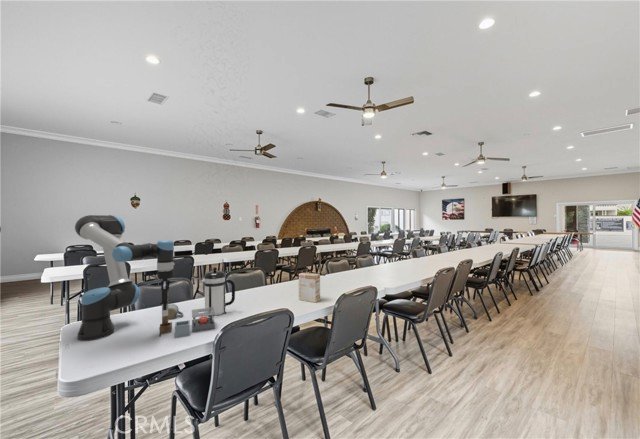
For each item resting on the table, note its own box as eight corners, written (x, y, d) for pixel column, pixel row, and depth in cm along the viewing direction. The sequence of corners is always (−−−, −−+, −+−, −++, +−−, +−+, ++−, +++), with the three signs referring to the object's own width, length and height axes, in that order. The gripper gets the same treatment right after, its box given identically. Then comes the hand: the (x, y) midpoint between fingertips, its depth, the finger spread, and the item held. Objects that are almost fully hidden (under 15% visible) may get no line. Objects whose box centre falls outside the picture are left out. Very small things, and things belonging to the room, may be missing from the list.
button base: (192, 335, 148) (192, 315, 148) (192, 328, 158) (191, 309, 158) (214, 331, 153) (214, 312, 153) (213, 324, 163) (213, 307, 163)
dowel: (161, 330, 148) (162, 292, 148) (162, 328, 151) (162, 290, 151) (167, 329, 149) (168, 291, 149) (168, 328, 152) (168, 290, 152)
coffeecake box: (320, 300, 210) (320, 273, 210) (315, 303, 204) (315, 275, 204) (303, 297, 218) (303, 272, 218) (298, 300, 212) (298, 273, 212)
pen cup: (175, 340, 142) (174, 326, 142) (175, 335, 148) (175, 322, 148) (189, 338, 144) (189, 324, 144) (189, 333, 150) (189, 320, 150)
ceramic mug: (163, 320, 170) (163, 307, 170) (164, 316, 178) (165, 304, 178) (182, 318, 174) (182, 306, 174) (183, 314, 182) (184, 302, 182)
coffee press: (221, 320, 170) (220, 269, 170) (197, 318, 173) (196, 269, 173) (235, 311, 187) (235, 265, 187) (213, 309, 190) (213, 264, 190)
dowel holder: (159, 336, 146) (159, 327, 146) (160, 333, 151) (160, 323, 151) (171, 335, 149) (171, 325, 149) (172, 331, 153) (171, 322, 153)
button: (199, 328, 153) (199, 319, 153) (199, 326, 156) (199, 317, 157) (207, 327, 155) (207, 318, 155) (207, 325, 158) (206, 316, 158)
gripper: (172, 272, 144) (172, 318, 144) (174, 267, 159) (173, 309, 159) (155, 273, 141) (155, 320, 141) (158, 268, 156) (158, 311, 156)
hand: (165, 314), depth 150 cm, fingers closed on dowel, 3 cm apart
